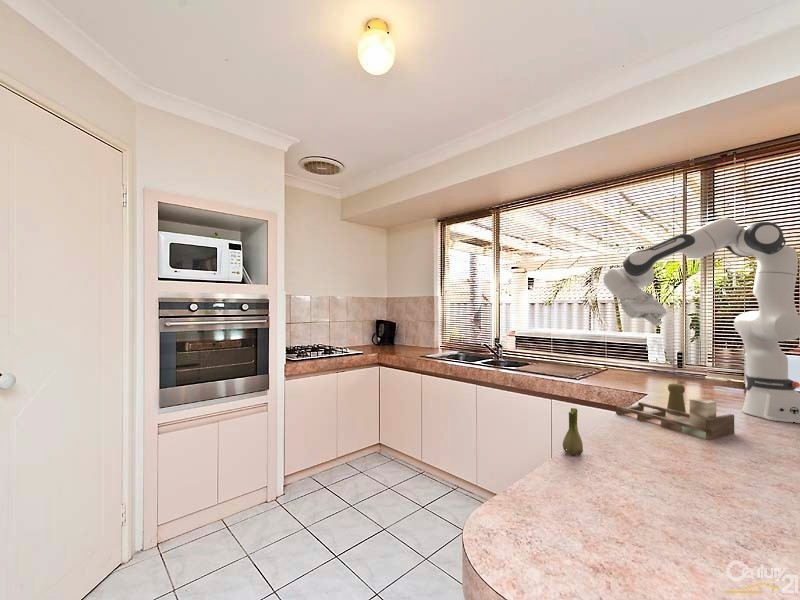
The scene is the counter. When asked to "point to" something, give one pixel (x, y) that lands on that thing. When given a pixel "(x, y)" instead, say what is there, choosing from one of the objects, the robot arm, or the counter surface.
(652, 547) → the counter surface
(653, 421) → the trap box
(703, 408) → the birch block
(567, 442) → the fennel bulb
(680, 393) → the cork
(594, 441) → the counter surface
